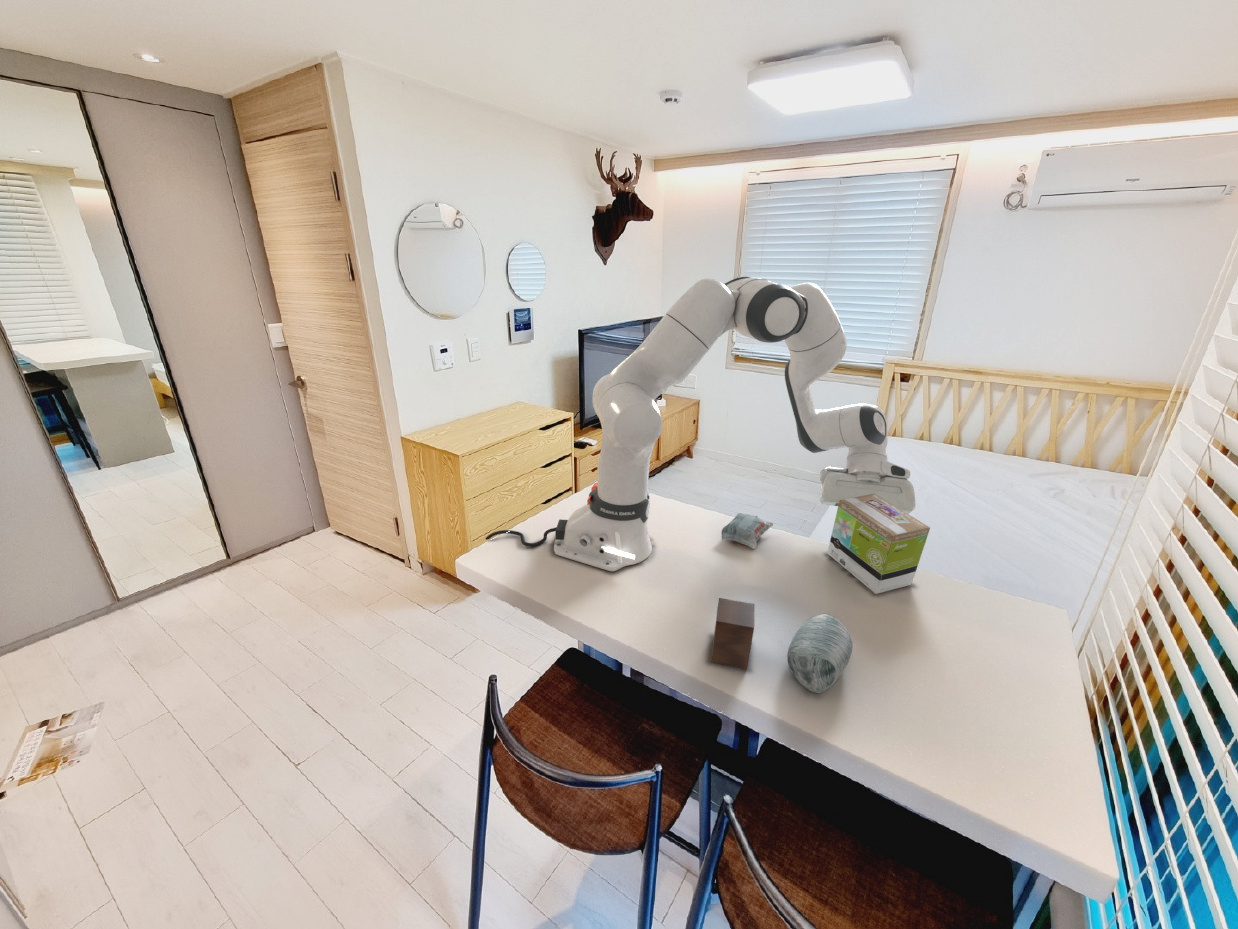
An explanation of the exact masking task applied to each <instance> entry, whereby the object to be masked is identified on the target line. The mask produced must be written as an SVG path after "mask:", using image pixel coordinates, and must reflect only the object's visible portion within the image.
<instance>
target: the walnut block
mask: <svg viewBox="0 0 1238 929" xmlns="http://www.w3.org/2000/svg"><path fill="white" fill-rule="evenodd" d="M717 601H718V603H717V610H716V616H715V625H714V633H713V640H712V641H713V642H712V650H711V657H710V658H711V660H710V662H711V663H715V664H719V665H723V666H728V667H733V668H739V669H742V670H748V667H749V662H750V654H751V650H752V643H753V637H754V632H755V603H752V602H746V601H740V600H733V599H729V598H722V597H719V598H718V600H717Z"/></svg>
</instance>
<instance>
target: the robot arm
mask: <svg viewBox="0 0 1238 929" xmlns="http://www.w3.org/2000/svg"><path fill="white" fill-rule="evenodd" d="M730 330H734V331H736V332H737V333H739V334H740V335H742V336H744V337H747V338H750V339H752V340H753V339H754V340H757V341H759V342H761V343H768V344H771V343H778V342H783V341H784V343H785V345H786V347H787V349H788V351H789V355H790V358H789V360H788V361H787V362H786V364H785V366H784V382H785V386H786V391H787V395H788V398H789V402H790V406H791V409H792V413H793V416H794V421H795V425H796V432H797V433H796V434H797V438H798V442H799V444H800V445H801V446H802V447H803V448H804V449H805V450H807V451H809V452H811V453H813V454H817V453H823V452H827V451H831V450H837V449H846V448H848V453H847V455H846V468H842V467H831V466H828V467H826V468H823V469H822V470H820V473H819V481H820V483H821V486H820V492H819V502H820V503H821V505H824V506H832V507H838V505H839V501H840V500H844V499H849V498H854V497H859V496H864V495H869V494H873V493H874V494H876V495H877V496H879V497H881V498H882V499H884V500H886V501H887V502H889V503H891V504H892V505H894V506H896V507H897V508H899V509H900V510H902V511H904V512H905V513H907V514H909V515H910V514H911V513H913V511H914V510H915V509H916V494H915V489H914V485H913V484H912V482H911V481H910V480H909V479H910V477H911V471H910V470H909V469H908V468H905V467H902V466H900V465H898V464H895V463H892V462H890V461H888V454H887V452H886V451H887V450H886V449H887V446H888V441H889V440H888V439H889V438H888V437H889V436H888V425H887V418H886V414H885V412H884V410H883V409H882V408H881V407H879V406H877V405H875V404H868V403H857V404H851V405H850V404H849V405H845V406H841V407H835V408H829V409H823V410H822V409H817V408H815V405H814V401H813V398H812V394H811V389H810V386H811V385H813V384H814V383H815V382H817V381H818V380H819V379H821V378H823V377H825V376H827V375H828V374H829V373H830V372H833V370H835V368H836V367H837V366H838V365H839V364H840V363H841V361H842V360H843V358H844V356H845V354H846V350H847V346H848V343H847V338H846V333H845V331H844V328H843V326H842V323H841V321H840V318H839V317H838V314H837V312H836V310H835V308H834V307H833V305H832V303H831V301H830V300H829V298H828V297H827V295H826V294H825V293H824V291H823V290H822V289H821V288H820V286H818V285H817V284H815V283H812V282H802V283H798V284H795V285H793V286H791V287H790V286H787V285H785V284H782V283H776V282H773V281H771V280H769V279H766V278H760V277H750V276H741V277H736V278H733V279H731V280H729V281H727V282H725V283H724V282H722V281H720V280H718V279H715V278H710V277H707V278H702V279H700V280H698V281H697V282H696V283H694V284H693V285H692V286H691V287H690V288H688V290H686V291H685V292H684V293H683V294H682V295H681V296H680V297H679V298H678V299H677V300H676V302H674V304H673V305H672V306H671V307H670V308H669V309H668V311H666V312H665V314H664V315H663V316H662V318H661V319H660V321H658V323H657V324H656V325H655V326H654V328H653V329H652V330H651V331H650V333H649V334H648V335H647V336H646V338H645V339H644V340H643V341H642V343H640V345H639V346H638V347H637V348H636V349H635V350H633V352H632V353H631V354H630V355H628V356H627V357H626V358H625V359H624V360H622V362H620V363H619V364H618V365H617V366H616V367H615V368H614V369H613V370H611V372H609V373H608V374H606V375H603V376H602V377H601V378H599V379H598V380H597V381H596V383H595V385H594V387H593V390H592V407H593V410H594V412H595V414H596V416H597V418H598V419H599V422H600V425H601V431H602V436H601V437H602V439H601V447H600V452H599V456H598V458H597V461H596V462H597V469H596V470H597V473H596V475H597V482H595V483H594V484H593V485H592V487H591V491H590V492H589V493H588V498H587V499H586V502H587V503H586V504H585V505H582V506H581V507H579V508H577V509H576V510H574V512H573V513H572V514H571V515H570V516H569V517H568V519H560V518H559V519H558V522H557V525H556V527H552V528H549V529H547V530H545V531H544V533H543V537H542V539H540V540H538V541H536V542H526V541H525V536H524V534H523V533H522V532H521V531H517V530H512V529H502V530H497V531H493V532H492V533H489V534H488V535H486V537H485V538H484V540H490V539H491V538H493V537H495V536H497V535H503V534H504V535H505V534H506V535H507V534H510V535H516V536H519V537H520V542H521V545H523V546H525V547H529V548H530V547H532V548H533V547H538V546H540V545H542V544H544V543H545V542H546V541H547V539H548V535H549V534H551V533H553V532H555V533H554V534H555V540H554V543H553V551H554V552H553V553H554V554H555V555H557V556H559V557H562V558H566V559H568V560H572V561H575V562H579V563H582V564H584V565H588V566H592V567H595V568H598V569H602V570H603V571H604V570H605V571H608V572H616V571H618V570H621V569H622V568H624V567H628V566H632V565H635V564H639V563H641V562H643V561H645V560H646V559H648V558H649V557H650V556H651V554H652V552H653V545H652V541H651V537H650V532H649V523H648V522H649V521H648V519H649V517H650V509H651V508H650V507H651V506H650V505H651V503H650V502H651V500H650V492H649V476H650V463H651V457H652V454H653V449H654V446H655V443H656V442H657V441H658V439H659V438H660V436H661V434H662V430H663V419H662V415H661V411H660V409H659V407H658V403H657V402H655V400H656V399H657V398H658V397H659V396H661V395H662V394H663V393H665V392H666V391H667V390H669V389H670V388H671V387H673V386H675V385H678V384H681V383H682V382H683V381H685V380H686V379H687V377H688V376H689V375H690V373H691V372H693V370H694V369H695V368H696V367H697V365H698V364H699V363H700V362H701V360H703V358H704V357H705V355H706V354H707V353H708V352H709V351H710V349H711V348H712V347H713V346H714V344H715V343H716V342H717V340H718V339H719V338H720V337H721V336H723V335H724V334H725V333H727V332H729V331H730ZM508 531H510V532H508ZM506 532H508V533H506Z"/></svg>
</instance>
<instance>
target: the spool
mask: <svg viewBox="0 0 1238 929" xmlns="http://www.w3.org/2000/svg"><path fill="white" fill-rule="evenodd" d="M853 648H854V645H853V640H852V636H851V634H850V632H849V631H848V629H847V628H846V626H845V625H844V624H843V623H842V622H841V621H840V620H839V619H837V618H836V617H834V616H832V615H830V614H827V613H824V614H823V613H822V614H817V615H815V616H813V617H810V618H809V619H808V620H807V621H805V623H803V624H802V626H801V627H799V629H798V630H797V631H796V633H795V634H794V636H793V637H792V640H791V642H790V644H789V647H788V649H787V655H786V656H787V657H786V660H787V664H788V666H789V669H790V671H791V673H792V675H793V676H794V677H795V679H796V680H797V681H798V683H799V684H800V685H801V686H803V687H804V688H805V689H806V690H808V691H810V692H813V693H818V694H819V693H820V694H821V693H823V692H824V691H826V690H828V689H829V688H831V687H832V686H833V685H834V684H835V683H836V681H838V679H839V677H840V676H841V675H842V674H843V672H844V670H845V668H846V666H847V665H848V663H849V661H850V659H851V657H852V653H853V650H854V649H853Z"/></svg>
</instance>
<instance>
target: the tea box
mask: <svg viewBox="0 0 1238 929" xmlns="http://www.w3.org/2000/svg"><path fill="white" fill-rule="evenodd" d="M930 529H931V527H930V526H929V525H927V524H926V523H923V522H922V521H921V520H918V519H917V518H915V517H914V516H912V515H910V513H909V514H907V513H905V512H904V511H902V510H900V509H899V508H897V507H896V506H894V505H892V504H891V503H889V502H887V501H886V500H884V499H882V498H881V497H879V496H877V495H876V494H874V493H873V494H869V495H864V496H859V497H854V498H849V499H844V500H840V501H839V505H838V506H837V510H836V515H835V518H834V522H833V526H832V531H831V536H830V539H829V545H828V549H827V555H828V556H830V557H831V558H832V559H833V560H834V561H836V563H838V564H839V565H841V567H842V568H844V569H845V570H846V571H848V572H849V573H850V574H851V575H852V576H853V577H855V578H856V579H857V580H859V581H860V582H861V583H862V584H863V585H864V586H866V587H867V588H868V589H869V590H870V591H871V592H872V593H873V594H875V595H878V594H882V593H885V592H889V591H893V590H897V589H900V588H904V587H907V586H910V585H912V583H913V581H914V578H915V576H916V572H917V570H918V566H919V563H920V560H921V558H922V554H923V551H924V548H925V546H926V543H927V539H928V536H929V533H930Z"/></svg>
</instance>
